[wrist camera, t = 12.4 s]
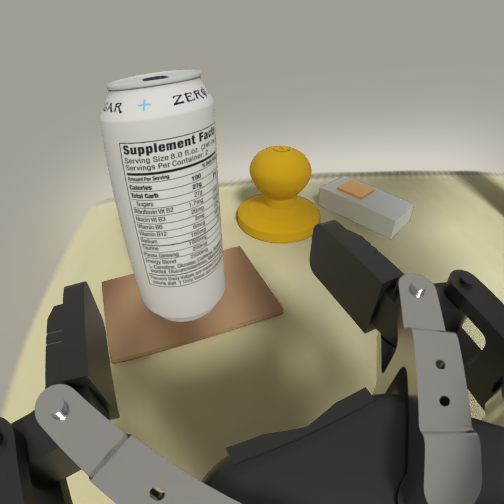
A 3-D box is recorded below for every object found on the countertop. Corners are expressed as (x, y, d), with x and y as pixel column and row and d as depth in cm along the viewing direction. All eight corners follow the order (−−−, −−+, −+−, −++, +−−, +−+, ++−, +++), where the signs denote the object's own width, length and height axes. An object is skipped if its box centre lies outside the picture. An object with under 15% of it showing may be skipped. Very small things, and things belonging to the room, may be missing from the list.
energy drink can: (211, 261, 26) (196, 66, 17) (238, 312, 22) (230, 73, 13) (138, 280, 24) (97, 83, 15) (152, 338, 20) (92, 94, 11)
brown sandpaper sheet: (239, 249, 28) (239, 246, 28) (282, 312, 22) (283, 309, 22) (103, 285, 24) (101, 282, 24) (112, 363, 19) (110, 360, 18)
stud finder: (408, 224, 32) (414, 202, 31) (389, 242, 30) (395, 218, 28) (342, 194, 38) (345, 173, 36) (317, 207, 35) (320, 184, 33)
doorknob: (297, 196, 36) (333, 234, 30) (228, 208, 34) (253, 251, 28) (301, 133, 32) (344, 160, 26) (225, 140, 30) (253, 170, 24)
